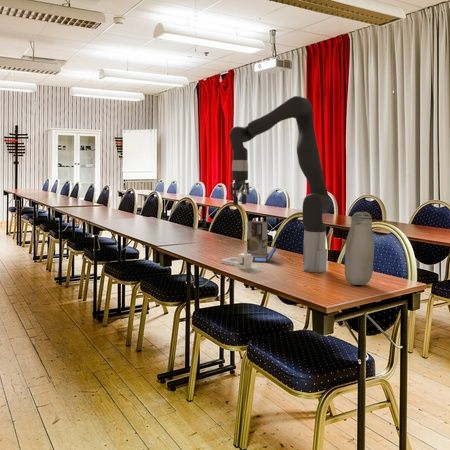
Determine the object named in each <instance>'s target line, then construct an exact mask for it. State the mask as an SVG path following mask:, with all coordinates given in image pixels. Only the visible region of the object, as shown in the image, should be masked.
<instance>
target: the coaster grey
mask: <svg viewBox="0 0 450 450" xmlns="http://www.w3.org/2000/svg"><path fill="white" fill-rule="evenodd" d="M246 272H247V273H251V274H259V273H264V272H265V271H264V270H259V269H257V268H253V269H248V270H245V273H246Z"/></svg>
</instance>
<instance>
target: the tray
mask: <svg viewBox="0 0 450 450" xmlns="http://www.w3.org/2000/svg"><path fill="white" fill-rule="evenodd" d="M220 263H221V264H225V265H228V266H229V265H231V266H234V267H238V257H234V256H233V257H228V258H222V259H221V260H220Z"/></svg>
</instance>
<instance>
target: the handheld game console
mask: <svg viewBox="0 0 450 450" xmlns="http://www.w3.org/2000/svg"><path fill="white" fill-rule="evenodd" d="M276 251H277V244H274V246H273V247H272V249H271V250H270V252H269V253H268V255H267V256H253V257H252V260H251V263H254V264H255V263H258V264H259V263H260V264H262V263H263V264H268V263H269V261H270V260H271V258H272V257H273V256H274V254H275V252H276Z"/></svg>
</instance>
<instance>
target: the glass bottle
mask: <svg viewBox="0 0 450 450" xmlns="http://www.w3.org/2000/svg"><path fill="white" fill-rule="evenodd" d="M350 222H351V223H350V226H349V231H348V234H347V236H346V240H345V248H344V249H345V250H344V251H345V252H344V277H345V279H346V281H347V282H348V284H351V285H352V286H355V285H362V286H365V285H366V284H368V283H369V282H370V281H371V279H372V278H373V270H374V259H375V258H374V257H375V239H374V234H373V233H374V232H373V227H372V226H373V218H372V215H371V214H370V213H369V212H367V211H357V212H355V213H353V215H352V216H351V219H350Z"/></svg>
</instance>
